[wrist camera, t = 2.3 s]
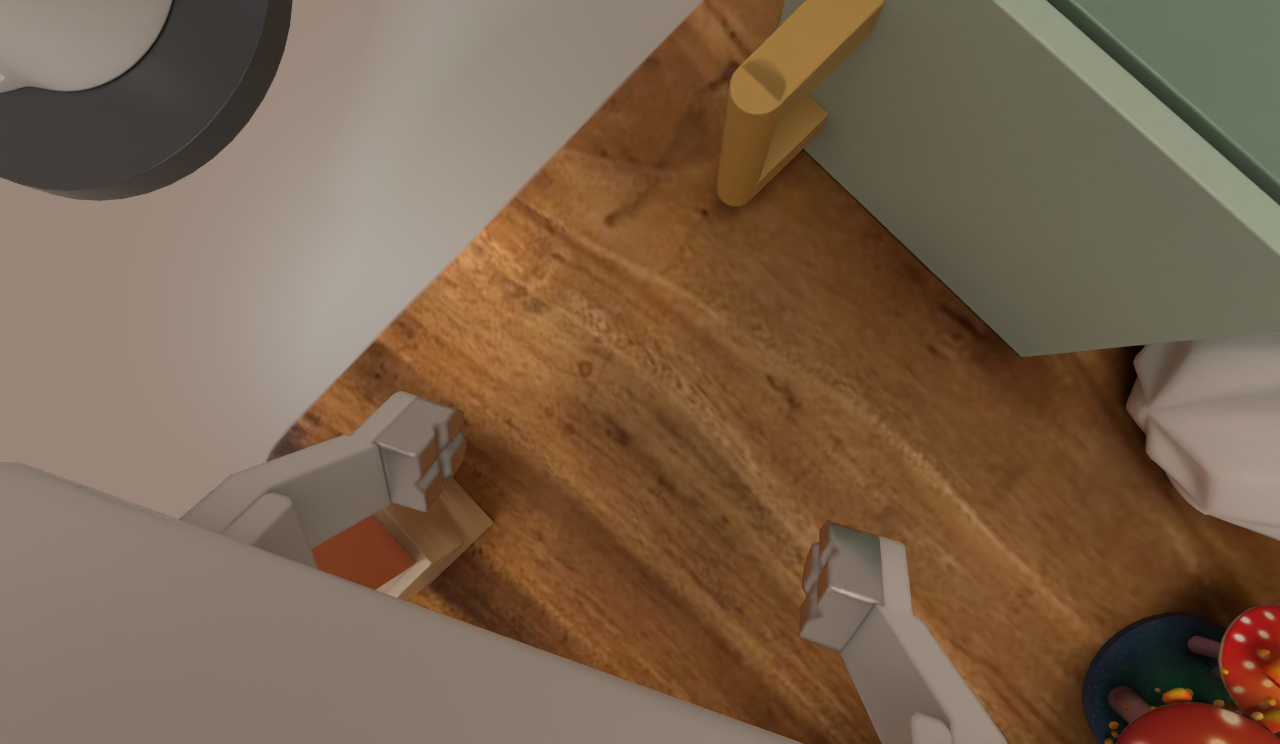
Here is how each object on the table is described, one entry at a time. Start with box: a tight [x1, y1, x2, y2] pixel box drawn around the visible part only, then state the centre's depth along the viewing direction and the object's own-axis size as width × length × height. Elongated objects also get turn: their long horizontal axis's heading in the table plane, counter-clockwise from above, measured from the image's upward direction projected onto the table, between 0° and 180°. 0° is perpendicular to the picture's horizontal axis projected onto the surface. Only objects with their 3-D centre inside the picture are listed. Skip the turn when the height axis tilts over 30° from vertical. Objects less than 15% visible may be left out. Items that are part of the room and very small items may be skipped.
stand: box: [373, 477, 493, 601], centre depth 30 cm, size 5×5×8 cm
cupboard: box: [1047, 0, 1280, 205], centre depth 24 cm, size 11×20×16 cm, turn 44°
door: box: [717, 0, 1280, 357], centre depth 24 cm, size 7×20×16 cm, turn 44°
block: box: [311, 515, 416, 594], centre depth 22 cm, size 4×4×8 cm
